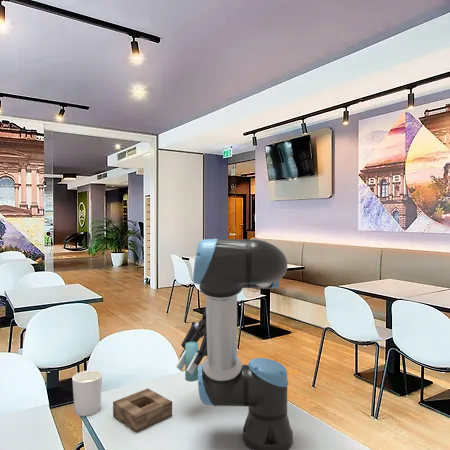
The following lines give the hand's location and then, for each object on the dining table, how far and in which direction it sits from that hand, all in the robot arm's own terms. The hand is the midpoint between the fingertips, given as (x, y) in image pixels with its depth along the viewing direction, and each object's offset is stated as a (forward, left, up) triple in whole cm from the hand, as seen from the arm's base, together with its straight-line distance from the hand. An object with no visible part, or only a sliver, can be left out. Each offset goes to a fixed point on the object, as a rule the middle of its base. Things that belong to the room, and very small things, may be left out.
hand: (183, 370), depth 129 cm
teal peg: (0, -4, -4) cm, 6 cm away
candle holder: (+27, +20, -16) cm, 38 cm away
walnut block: (+10, +9, -16) cm, 21 cm away
